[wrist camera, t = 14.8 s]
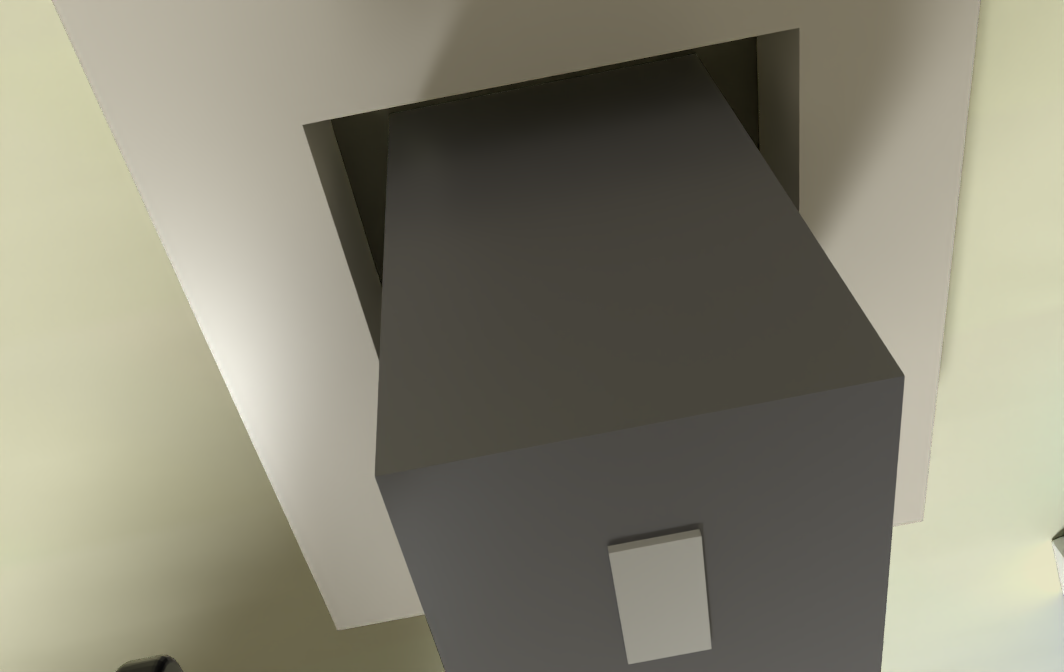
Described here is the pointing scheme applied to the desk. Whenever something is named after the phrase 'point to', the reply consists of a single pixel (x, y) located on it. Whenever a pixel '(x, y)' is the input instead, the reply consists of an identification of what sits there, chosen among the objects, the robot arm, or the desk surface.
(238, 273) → the socket plate
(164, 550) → the desk surface
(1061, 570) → the walkman
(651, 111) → the charger
